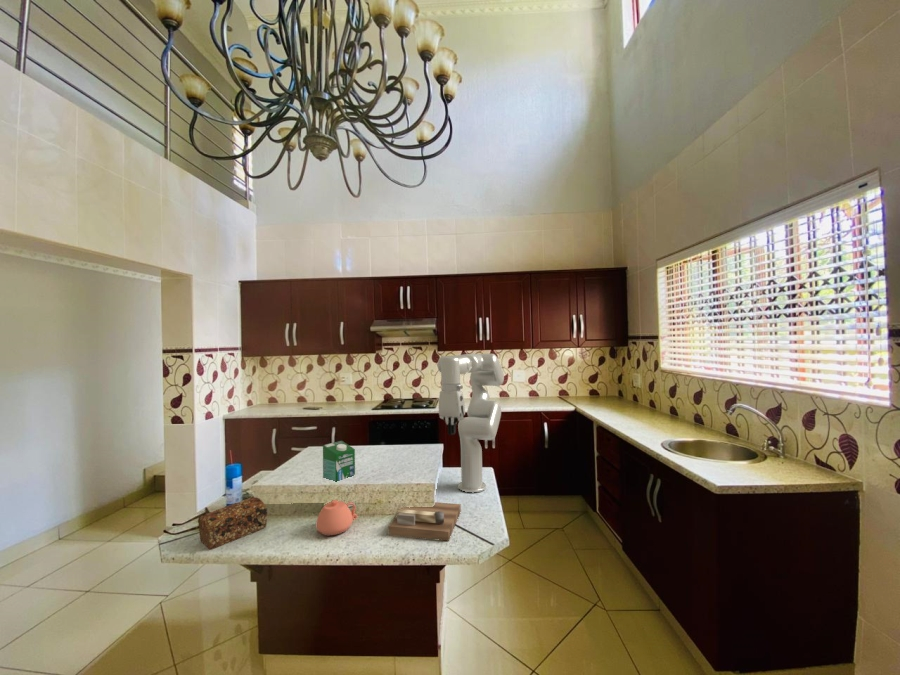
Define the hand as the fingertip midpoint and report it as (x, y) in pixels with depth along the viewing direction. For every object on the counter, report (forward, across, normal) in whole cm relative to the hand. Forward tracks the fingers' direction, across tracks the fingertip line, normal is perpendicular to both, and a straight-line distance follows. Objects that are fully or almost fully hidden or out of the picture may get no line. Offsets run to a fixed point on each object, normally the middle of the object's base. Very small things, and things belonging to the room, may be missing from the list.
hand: (451, 434), depth 140 cm
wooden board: (+29, +2, +15) cm, 33 cm away
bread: (+29, +55, +55) cm, 83 cm away
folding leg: (+26, +1, +20) cm, 32 cm away
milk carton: (+29, +41, +21) cm, 55 cm away
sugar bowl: (+29, +27, +34) cm, 53 cm away
